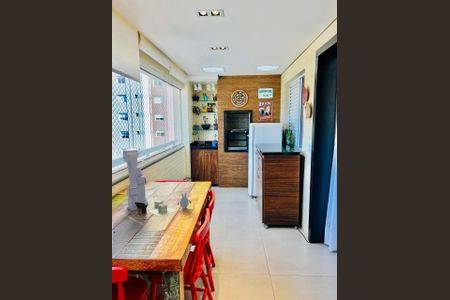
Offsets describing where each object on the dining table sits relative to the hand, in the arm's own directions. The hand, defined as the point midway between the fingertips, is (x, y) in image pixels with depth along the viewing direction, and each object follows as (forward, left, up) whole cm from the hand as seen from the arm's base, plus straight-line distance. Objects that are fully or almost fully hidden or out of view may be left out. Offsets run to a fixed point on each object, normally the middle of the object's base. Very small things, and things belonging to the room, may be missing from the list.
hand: (142, 212), depth 163 cm
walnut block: (0, 0, -1) cm, 1 cm away
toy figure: (+15, +25, -2) cm, 29 cm away
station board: (+7, +12, -1) cm, 14 cm away
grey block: (-4, +16, -2) cm, 17 cm away
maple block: (+7, +12, -1) cm, 14 cm away
